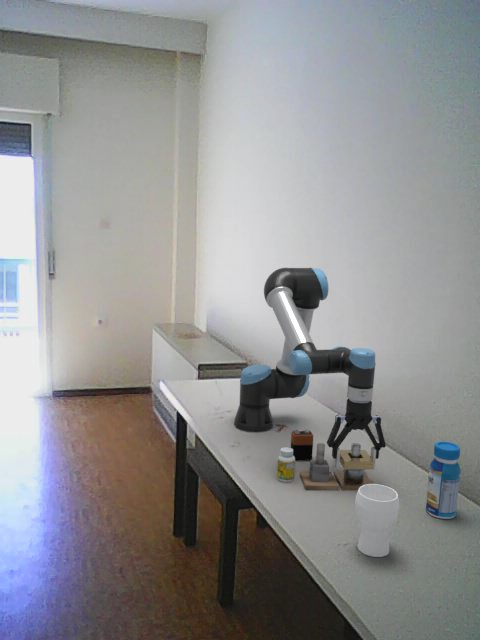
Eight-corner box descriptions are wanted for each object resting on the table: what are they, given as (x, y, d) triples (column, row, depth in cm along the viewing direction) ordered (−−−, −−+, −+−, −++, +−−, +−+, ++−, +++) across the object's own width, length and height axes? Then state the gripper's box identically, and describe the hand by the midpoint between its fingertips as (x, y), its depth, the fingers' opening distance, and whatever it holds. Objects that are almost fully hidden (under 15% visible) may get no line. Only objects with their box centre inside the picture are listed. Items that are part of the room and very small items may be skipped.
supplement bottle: (297, 481, 184) (298, 451, 183) (281, 483, 182) (283, 454, 180) (288, 474, 189) (290, 445, 187) (273, 476, 187) (275, 447, 185)
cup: (346, 537, 152) (350, 482, 150) (387, 537, 153) (391, 482, 151) (358, 561, 142) (363, 502, 139) (401, 560, 143) (406, 502, 140)
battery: (312, 460, 200) (314, 432, 198) (292, 461, 199) (294, 432, 198) (309, 455, 204) (310, 428, 203) (289, 456, 204) (291, 428, 202)
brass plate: (337, 457, 187) (337, 449, 187) (364, 457, 188) (365, 449, 188) (344, 469, 178) (344, 461, 178) (373, 469, 179) (374, 461, 179)
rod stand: (299, 475, 188) (301, 438, 186) (330, 475, 189) (333, 438, 187) (305, 490, 178) (307, 450, 176) (338, 490, 179) (341, 451, 177)
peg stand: (333, 476, 189) (336, 438, 187) (364, 476, 190) (367, 438, 188) (341, 490, 179) (344, 451, 177) (373, 490, 180) (377, 451, 178)
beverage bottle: (452, 523, 162) (460, 454, 158) (421, 514, 166) (428, 446, 163) (459, 511, 169) (466, 444, 165) (429, 502, 173) (435, 437, 170)
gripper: (324, 402, 175) (320, 473, 179) (400, 403, 177) (394, 473, 181) (319, 395, 182) (315, 463, 186) (392, 396, 184) (386, 463, 188)
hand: (354, 468), depth 183 cm, fingers open, 11 cm apart
